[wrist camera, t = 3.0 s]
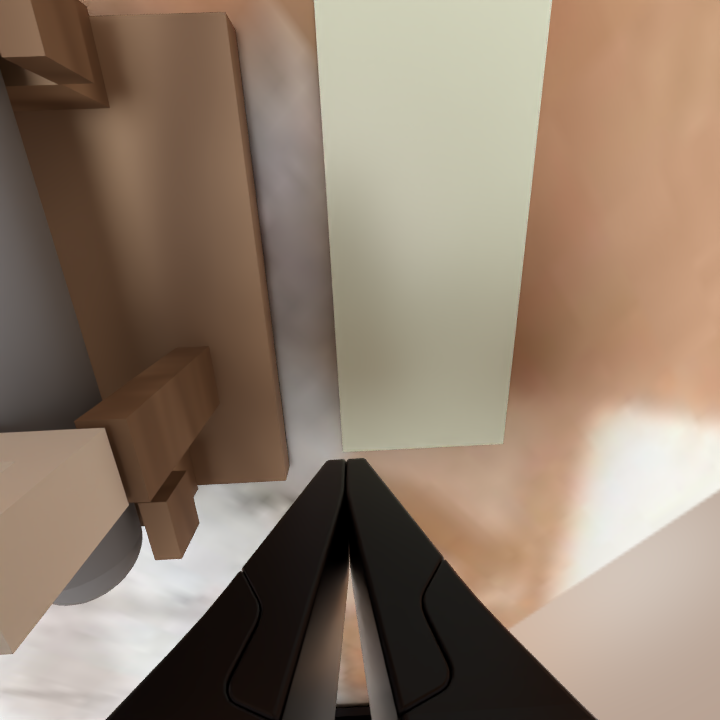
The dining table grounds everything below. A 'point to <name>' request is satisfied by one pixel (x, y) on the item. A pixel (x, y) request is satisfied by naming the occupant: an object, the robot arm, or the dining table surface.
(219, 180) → the cradle
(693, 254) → the dining table surface
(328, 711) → the robot arm
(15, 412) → the grey rod
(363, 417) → the mat
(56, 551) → the beige wooden bar
